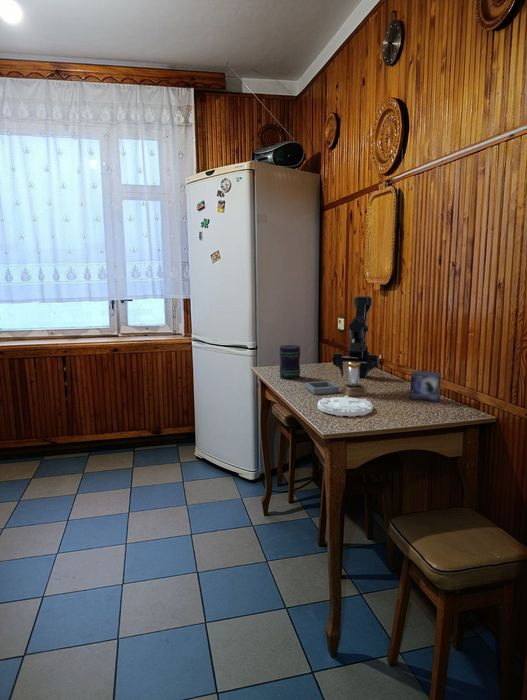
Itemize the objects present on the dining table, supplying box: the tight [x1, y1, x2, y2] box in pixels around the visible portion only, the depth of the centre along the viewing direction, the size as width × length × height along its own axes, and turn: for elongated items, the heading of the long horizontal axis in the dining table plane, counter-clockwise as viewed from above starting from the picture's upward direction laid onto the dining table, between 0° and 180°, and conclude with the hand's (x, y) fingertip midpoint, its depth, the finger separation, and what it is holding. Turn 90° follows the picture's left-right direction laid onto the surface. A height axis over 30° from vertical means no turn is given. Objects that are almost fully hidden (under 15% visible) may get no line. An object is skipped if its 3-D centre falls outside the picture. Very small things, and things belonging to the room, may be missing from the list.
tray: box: [304, 380, 340, 396], centre depth 199 cm, size 11×11×2 cm
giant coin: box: [317, 395, 374, 418], centre depth 172 cm, size 20×20×3 cm
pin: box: [346, 361, 361, 388], centre depth 193 cm, size 5×5×13 cm
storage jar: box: [279, 344, 301, 381], centre depth 223 cm, size 10×10×15 cm
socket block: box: [340, 383, 368, 397], centre depth 194 cm, size 8×8×3 cm
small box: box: [409, 370, 442, 403], centre depth 184 cm, size 11×6×10 cm, turn 62°
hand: (353, 376), depth 192 cm, fingers open, 9 cm apart
